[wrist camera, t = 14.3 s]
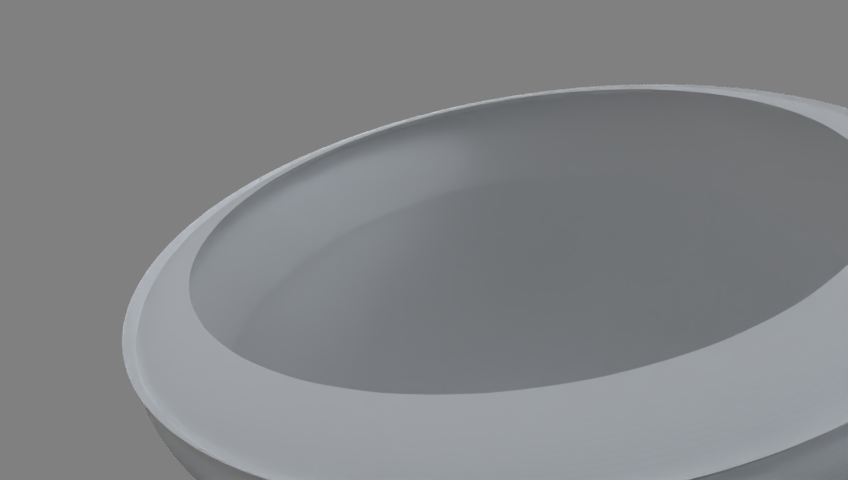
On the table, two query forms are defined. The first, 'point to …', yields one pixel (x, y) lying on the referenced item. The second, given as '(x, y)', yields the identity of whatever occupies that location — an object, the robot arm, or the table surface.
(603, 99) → the jar
